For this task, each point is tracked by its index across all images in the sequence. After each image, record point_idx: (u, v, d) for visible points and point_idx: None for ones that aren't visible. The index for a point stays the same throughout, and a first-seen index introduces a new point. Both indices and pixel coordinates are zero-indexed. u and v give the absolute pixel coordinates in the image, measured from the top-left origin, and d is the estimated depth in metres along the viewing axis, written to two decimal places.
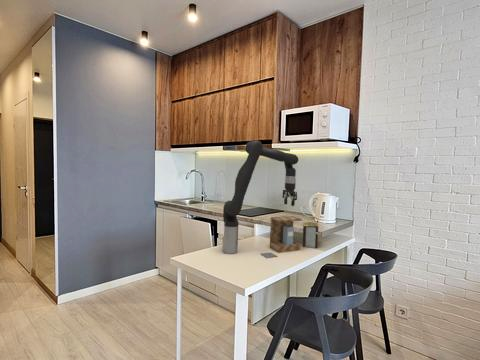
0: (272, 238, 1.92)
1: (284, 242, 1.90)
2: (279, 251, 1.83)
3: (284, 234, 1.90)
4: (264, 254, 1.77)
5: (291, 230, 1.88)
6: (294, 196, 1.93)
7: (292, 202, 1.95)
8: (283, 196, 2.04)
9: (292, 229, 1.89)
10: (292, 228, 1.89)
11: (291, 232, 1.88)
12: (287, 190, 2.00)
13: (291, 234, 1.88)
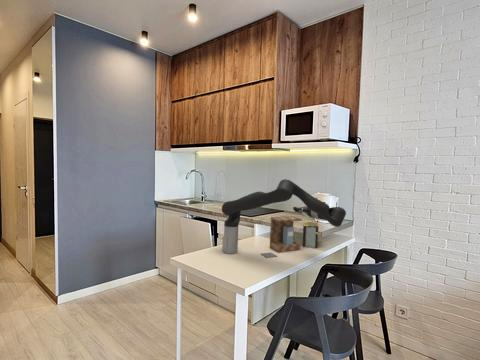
0: (272, 238, 1.92)
1: (284, 242, 1.90)
2: (279, 251, 1.83)
3: (284, 234, 1.90)
4: (264, 254, 1.77)
5: (291, 230, 1.88)
6: (297, 208, 1.71)
7: (295, 208, 1.76)
8: None
9: (292, 229, 1.89)
10: (292, 228, 1.89)
11: (291, 232, 1.88)
12: None
13: (291, 234, 1.88)
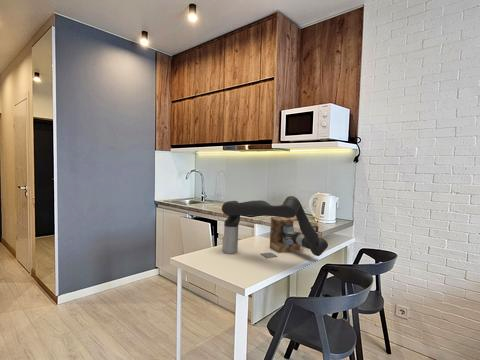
0: (272, 238, 1.92)
1: (284, 242, 1.90)
2: (279, 251, 1.83)
3: None
4: (264, 254, 1.77)
5: (291, 230, 1.88)
6: (284, 235, 1.84)
7: (284, 233, 1.89)
8: None
9: (291, 229, 1.89)
10: (292, 228, 1.89)
11: (291, 232, 1.89)
12: None
13: None
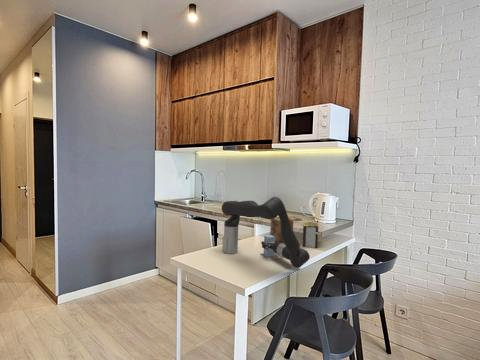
0: None
1: (265, 253, 1.76)
2: None
3: None
4: None
5: (272, 240, 1.74)
6: (264, 244, 1.69)
7: (263, 242, 1.74)
8: (280, 242, 1.76)
9: (273, 239, 1.75)
10: (273, 238, 1.75)
11: (272, 242, 1.75)
12: None
13: None
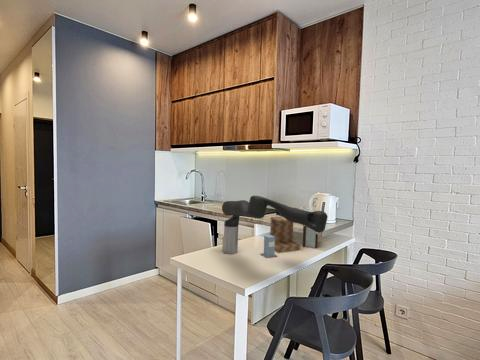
0: None
1: (265, 253, 1.76)
2: (279, 251, 1.83)
3: (265, 244, 1.76)
4: None
5: (272, 240, 1.74)
6: (278, 211, 1.59)
7: None
8: None
9: (273, 239, 1.75)
10: (273, 238, 1.75)
11: (272, 242, 1.75)
12: None
13: (272, 244, 1.74)
